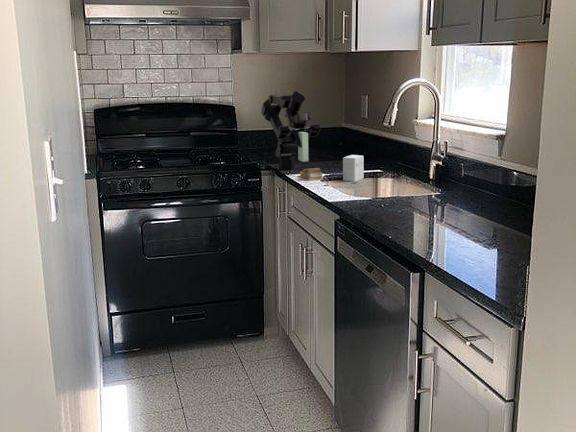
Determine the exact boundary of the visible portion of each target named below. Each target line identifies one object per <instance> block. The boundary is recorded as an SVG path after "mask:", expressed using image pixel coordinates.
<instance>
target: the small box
mask: <svg viewBox="0 0 576 432" xmlns="http://www.w3.org/2000/svg"><path fill="white" fill-rule="evenodd" d="M364 160H365V159H364V155H359V154H350V155H346V156H344V157H342V179H343V181H346V182H347V181H349V182H352V184H356V183H358V181H360V180H362V179H364V176H365V175H364V171H365V170H364V166H365V165H364ZM356 181H357V182H356Z"/></svg>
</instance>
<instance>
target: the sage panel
mask: <svg viewBox="0 0 576 432" xmlns="http://www.w3.org/2000/svg"><path fill="white" fill-rule="evenodd" d="M298 137H299V139H300V142H301V145H302V147H301V148H300V147H299V146H298V145H297V146H298V148H297V155H298V161H300V162H309V141H308V133H306V132H298Z"/></svg>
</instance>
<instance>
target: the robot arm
mask: <svg viewBox="0 0 576 432" xmlns="http://www.w3.org/2000/svg"><path fill="white" fill-rule="evenodd" d="M305 100H306V98H305V96H304V95H303V94H301V93H300V92H299V91H293V93H292V94H287V95H285V94H284V95H282V94H281V95H280V94H270V95H268V98H267V99H266V100H265V101H264V102H263V103H262V105H261V110H260V111H261V115H262V116H263V117H264V119H265V120H266V121H268V122H269V123H270V125H271V127H272V129H273V132H274V134H275V137H276V138H277V141H278V143H277V148H276V149H275V156H276V158H278V168H277V171H290V170H292V171H294V170H296V169H297V168H296V166H295V165H296V163H295V158H294V157H297V155H298V146H299V147H300V148H301V147H302V145H301V142H300V139H299V137H298V132H306V133H308V142H309V140H310V137H318V136H319V134H320V131H321V130H322V126H321V124H319V123H312V124H310V126H309V127H306V126H307V122H308V121H311V120H312V115H311V113H310V112H309V111H306V112H305V113H304V112H303V113H300V111H302V109H303V108H302V107H303V105H304V103H305ZM282 109H285V115H284V116H285V118H287V121H288V125H284V124H283V122H282V119H281V118H280V114H281V110H282Z"/></svg>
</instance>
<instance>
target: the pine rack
mask: <svg viewBox="0 0 576 432" xmlns="http://www.w3.org/2000/svg"><path fill="white" fill-rule="evenodd" d="M297 177H299V178H300V179H303V180H305V181H307V182H311V181H312V182H313V181H322V180H324V178H323V172H322V169H320V167H315V168H305V169H304V168H303V170H302V171H300V172H299V175H297Z"/></svg>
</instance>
